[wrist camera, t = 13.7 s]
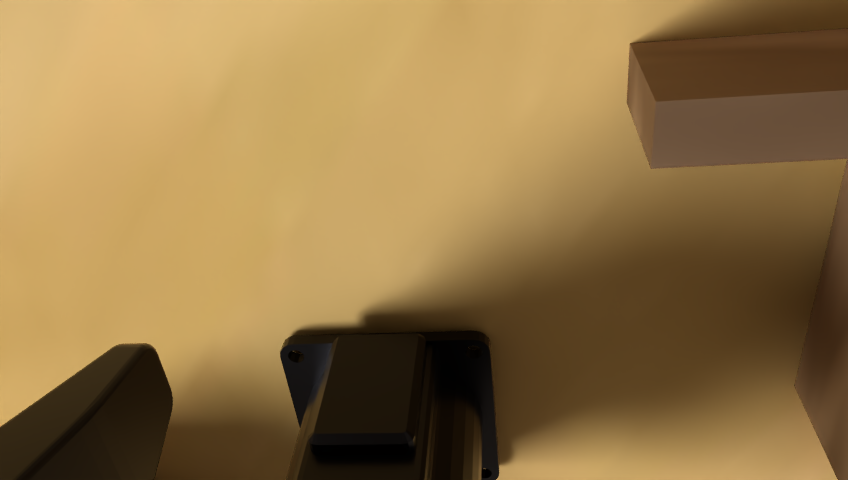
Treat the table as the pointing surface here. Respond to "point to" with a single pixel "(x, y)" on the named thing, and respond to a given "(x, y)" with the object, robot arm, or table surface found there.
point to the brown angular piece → (763, 160)
